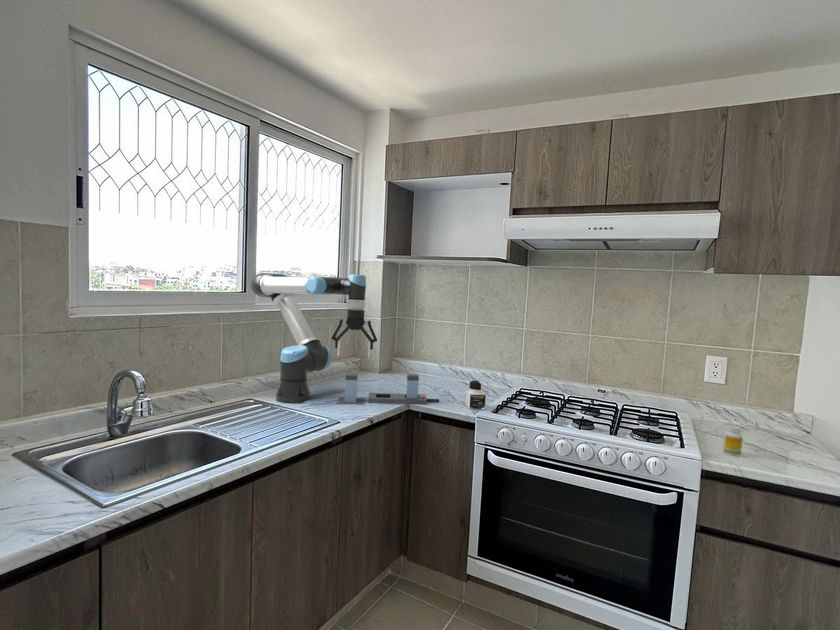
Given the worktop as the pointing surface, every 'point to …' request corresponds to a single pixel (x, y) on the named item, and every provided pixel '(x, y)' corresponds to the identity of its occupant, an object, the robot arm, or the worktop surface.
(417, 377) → the twin plug
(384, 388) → the worktop surface
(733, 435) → the supplement bottle
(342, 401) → the mat
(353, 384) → the plug
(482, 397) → the medicine bottle
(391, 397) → the strip
